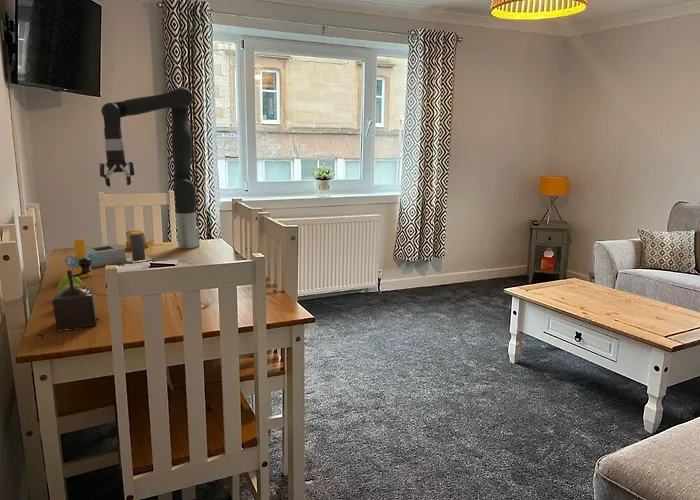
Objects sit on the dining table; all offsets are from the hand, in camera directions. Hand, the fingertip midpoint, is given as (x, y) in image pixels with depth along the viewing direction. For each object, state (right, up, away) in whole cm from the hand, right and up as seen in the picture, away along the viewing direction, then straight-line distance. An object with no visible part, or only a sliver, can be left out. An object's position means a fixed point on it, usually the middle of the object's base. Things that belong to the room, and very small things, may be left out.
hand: (118, 185), depth 237 cm
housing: (-3, -34, -7) cm, 35 cm away
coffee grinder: (+23, -51, -78) cm, 96 cm away
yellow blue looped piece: (-1, -40, -29) cm, 49 cm away
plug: (+11, -33, -4) cm, 35 cm away
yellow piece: (0, -28, +23) cm, 36 cm away
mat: (+11, -34, -4) cm, 36 cm away
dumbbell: (+11, -47, -59) cm, 76 cm away
